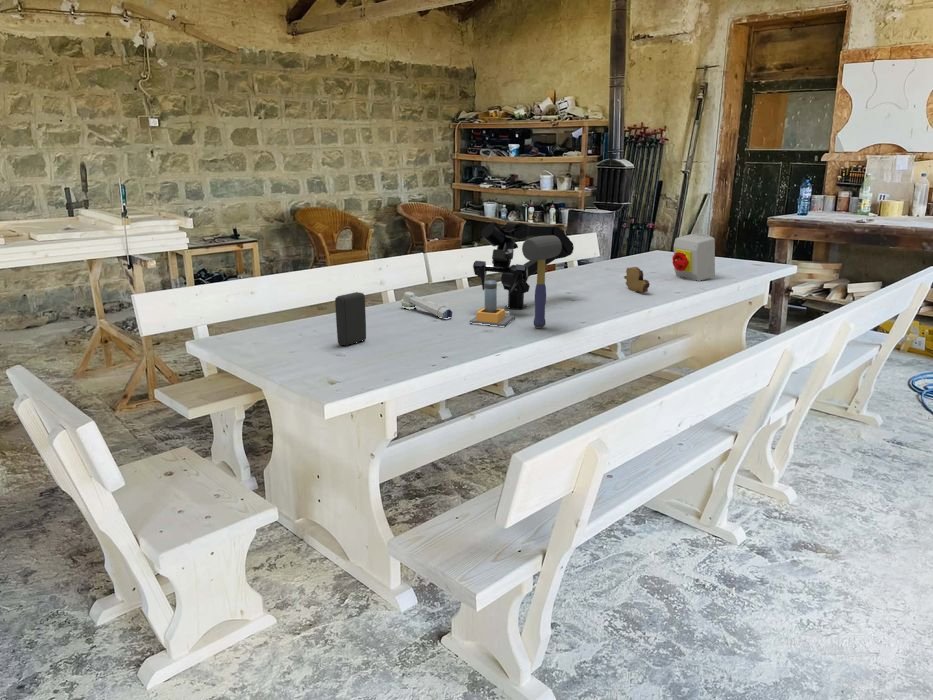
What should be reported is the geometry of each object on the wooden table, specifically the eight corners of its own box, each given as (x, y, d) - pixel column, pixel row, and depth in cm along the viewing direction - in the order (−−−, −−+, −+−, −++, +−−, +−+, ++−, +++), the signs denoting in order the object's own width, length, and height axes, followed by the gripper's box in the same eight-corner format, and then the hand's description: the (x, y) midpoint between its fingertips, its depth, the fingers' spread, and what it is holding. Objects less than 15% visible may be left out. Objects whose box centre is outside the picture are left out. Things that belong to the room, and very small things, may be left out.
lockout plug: (483, 318, 235) (483, 280, 231) (495, 317, 235) (495, 279, 231) (485, 321, 231) (485, 282, 227) (497, 320, 231) (497, 282, 227)
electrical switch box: (665, 281, 314) (664, 237, 307) (691, 274, 319) (690, 231, 312) (688, 287, 301) (687, 242, 294) (715, 279, 306) (714, 235, 299)
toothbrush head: (442, 310, 235) (398, 289, 251) (441, 328, 237) (397, 306, 254) (454, 308, 238) (410, 287, 255) (452, 326, 241) (409, 304, 257)
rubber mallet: (543, 322, 234) (546, 233, 225) (560, 326, 229) (564, 235, 220) (517, 329, 226) (520, 236, 217) (535, 333, 221) (538, 238, 212)
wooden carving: (652, 295, 276) (654, 270, 273) (643, 296, 274) (645, 270, 271) (628, 287, 291) (630, 263, 288) (619, 288, 289) (621, 264, 286)
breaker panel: (482, 316, 242) (482, 304, 241) (514, 319, 238) (515, 307, 237) (469, 324, 232) (469, 311, 231) (503, 327, 228) (504, 315, 226)
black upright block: (359, 338, 215) (356, 291, 210) (368, 340, 212) (366, 292, 208) (336, 345, 208) (333, 296, 204) (345, 347, 206) (342, 297, 201)
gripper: (475, 237, 239) (466, 275, 233) (529, 242, 235) (521, 281, 229) (479, 255, 249) (471, 292, 242) (530, 260, 245) (523, 298, 239)
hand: (496, 290), depth 238 cm, fingers open, 9 cm apart
